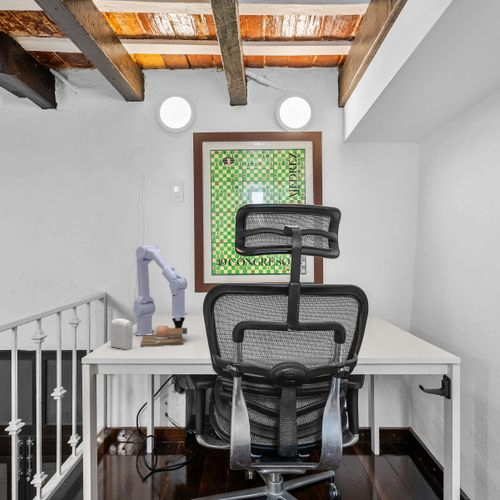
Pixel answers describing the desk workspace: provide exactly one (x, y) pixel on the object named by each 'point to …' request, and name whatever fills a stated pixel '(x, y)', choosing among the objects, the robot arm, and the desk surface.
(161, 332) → the wooden tool handle
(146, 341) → the walnut base
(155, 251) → the robot arm
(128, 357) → the desk surface
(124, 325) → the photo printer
